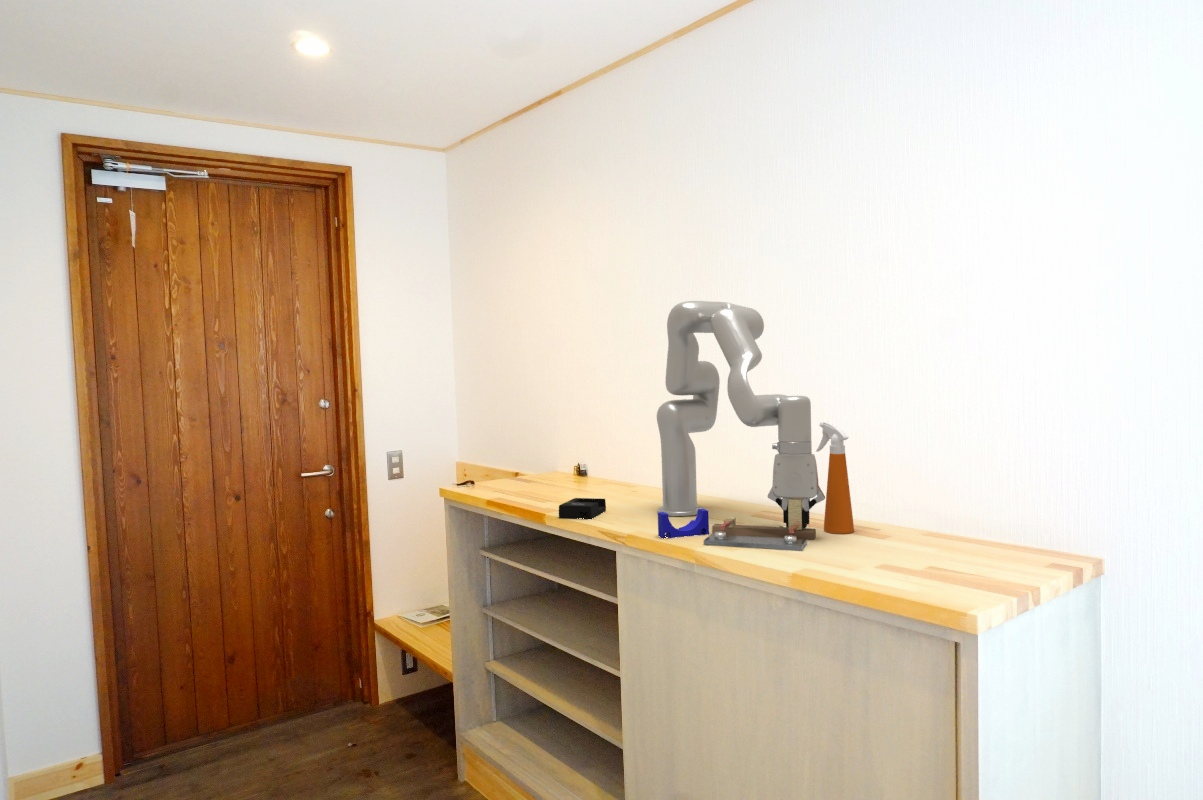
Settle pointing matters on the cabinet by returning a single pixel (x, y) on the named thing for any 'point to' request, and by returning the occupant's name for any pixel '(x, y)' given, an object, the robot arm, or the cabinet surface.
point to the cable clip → (693, 528)
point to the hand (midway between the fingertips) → (796, 526)
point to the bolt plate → (756, 541)
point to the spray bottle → (837, 483)
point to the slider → (795, 514)
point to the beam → (761, 530)
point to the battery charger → (582, 508)
